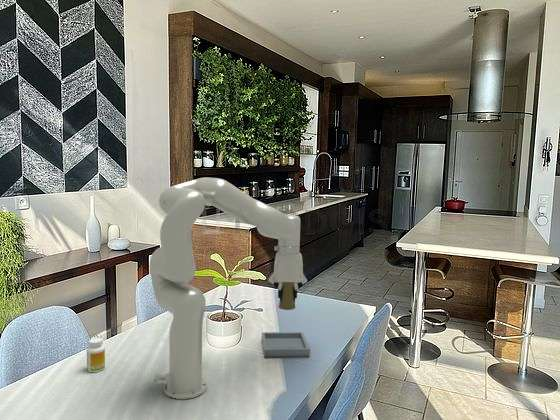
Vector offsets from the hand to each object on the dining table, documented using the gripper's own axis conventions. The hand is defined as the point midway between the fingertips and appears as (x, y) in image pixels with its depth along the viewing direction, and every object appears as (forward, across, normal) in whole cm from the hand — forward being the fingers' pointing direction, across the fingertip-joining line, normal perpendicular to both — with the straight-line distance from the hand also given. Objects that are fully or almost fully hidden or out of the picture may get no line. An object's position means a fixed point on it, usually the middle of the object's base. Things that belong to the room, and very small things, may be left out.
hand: (287, 299), depth 159 cm
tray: (+19, 0, +3) cm, 20 cm away
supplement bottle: (+19, -63, -12) cm, 67 cm away
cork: (+3, 0, 0) cm, 3 cm away
